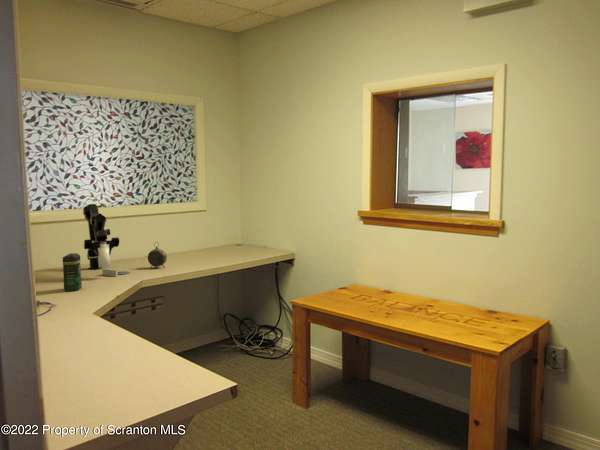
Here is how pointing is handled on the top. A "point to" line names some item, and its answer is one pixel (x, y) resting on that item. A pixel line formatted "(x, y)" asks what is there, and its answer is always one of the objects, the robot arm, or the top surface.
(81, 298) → the top surface
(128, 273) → the mat
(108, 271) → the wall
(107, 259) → the bottle
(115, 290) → the top surface
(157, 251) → the alarm clock
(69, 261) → the coffee jar
